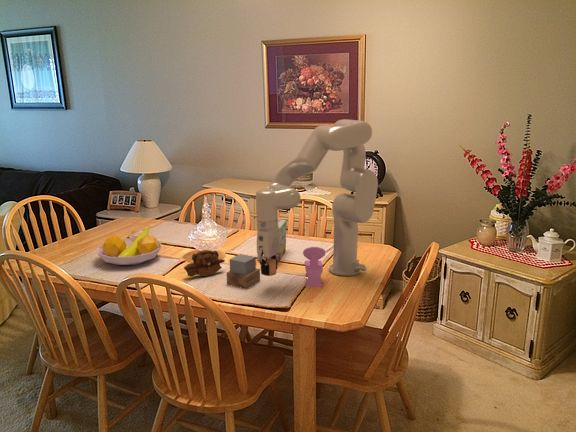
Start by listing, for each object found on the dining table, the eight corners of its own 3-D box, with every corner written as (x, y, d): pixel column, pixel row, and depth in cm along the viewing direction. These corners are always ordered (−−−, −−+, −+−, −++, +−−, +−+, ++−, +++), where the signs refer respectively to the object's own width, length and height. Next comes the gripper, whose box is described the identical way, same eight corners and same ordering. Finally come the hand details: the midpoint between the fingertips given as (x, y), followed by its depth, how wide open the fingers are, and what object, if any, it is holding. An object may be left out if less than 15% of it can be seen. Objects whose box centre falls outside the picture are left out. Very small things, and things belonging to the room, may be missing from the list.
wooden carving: (188, 282, 181) (187, 257, 179) (183, 278, 185) (182, 253, 182) (227, 272, 191) (226, 249, 188) (221, 269, 194) (220, 246, 192)
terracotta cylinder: (278, 272, 175) (278, 259, 174) (271, 276, 171) (271, 263, 169) (267, 269, 177) (266, 257, 176) (259, 274, 173) (259, 261, 172)
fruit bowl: (127, 275, 187) (124, 248, 184) (84, 262, 201) (81, 236, 198) (179, 256, 210) (177, 231, 207) (137, 245, 224) (135, 222, 221)
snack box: (276, 267, 197) (276, 232, 193) (263, 266, 198) (263, 231, 195) (286, 250, 217) (287, 218, 214) (274, 250, 218) (274, 218, 215)
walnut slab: (260, 281, 183) (259, 269, 181) (247, 289, 175) (246, 277, 174) (240, 277, 187) (240, 265, 185) (226, 285, 179) (226, 272, 178)
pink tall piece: (323, 277, 186) (324, 241, 182) (325, 286, 177) (326, 248, 174) (301, 278, 186) (302, 241, 182) (302, 286, 177) (303, 248, 173)
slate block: (255, 269, 181) (255, 257, 180) (245, 275, 175) (245, 262, 174) (240, 266, 184) (240, 253, 183) (229, 271, 178) (229, 259, 177)
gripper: (264, 232, 160) (266, 282, 165) (288, 219, 174) (289, 265, 179) (245, 229, 163) (248, 278, 168) (270, 216, 178) (272, 262, 183)
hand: (269, 271), depth 174 cm, fingers closed on terracotta cylinder, 4 cm apart
